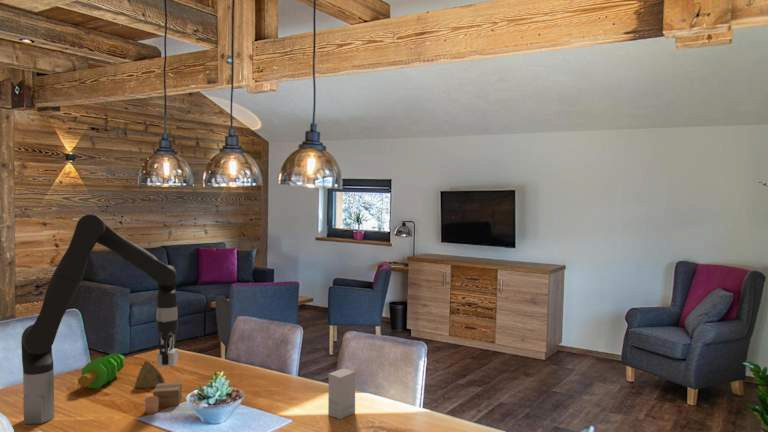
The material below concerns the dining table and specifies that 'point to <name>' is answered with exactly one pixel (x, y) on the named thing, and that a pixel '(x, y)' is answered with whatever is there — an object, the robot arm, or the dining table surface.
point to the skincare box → (341, 393)
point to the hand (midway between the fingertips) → (167, 361)
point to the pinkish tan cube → (151, 405)
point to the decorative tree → (101, 371)
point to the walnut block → (168, 393)
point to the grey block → (171, 358)
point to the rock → (148, 376)
